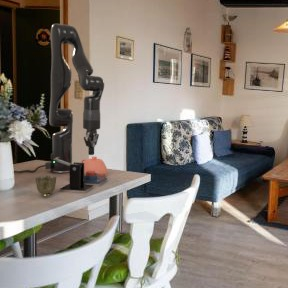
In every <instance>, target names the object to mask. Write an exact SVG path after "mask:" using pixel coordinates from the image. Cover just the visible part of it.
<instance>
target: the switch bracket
mask: <svg viewBox="0 0 288 288" xmlns="http://www.w3.org/2000/svg"><path fill="white" fill-rule="evenodd" d="M84 163H85V162H83V163H81V162H78V161H77V162H76V161H75V162H73V163H72V164H70V172H69V183H67V184H66V185H64V186H62V187H61V188H59V190H61V191H81V192H86V191H88V190H89V189H90V188H92V187H94V184H85V183H84ZM81 166H82V167H81Z"/></svg>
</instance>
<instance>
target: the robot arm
mask: <svg viewBox="0 0 288 288" xmlns="http://www.w3.org/2000/svg"><path fill="white" fill-rule="evenodd" d="M62 45H70V46H71V48H73V53H72V56H71V62H72V65H73V67H74V69H75V71H76V73H77V76H78V82H79V87H80V88H81V89H82V90H83V91H85V92H91V94H90V95H87V96H85V97H84V98H83V112H82V128H83V129H84V130H86V131H85V136H83V140H84V141H83V142H84V143H85V146H86V147H87V148H88V151H87V152H88V155H89V156H94V155H95V148H96V146H97V144H98V140H99V136H100V134H99V133H98V130H100V129H101V100H102V95H103V94H104V93H103V92H104V89H105V81H104V79H103V77H101V76H99V75H97V76H96V75H93V74H94V68H93V66H92V65H91V63H90V61H89V60H88V57H87V55H86V53H85V50H84V47H83V43H82V40H81V37H80V35H79V32H78V30H77V28H76V27H74V26H73V25H71V24H62V23H53V24H52V25H51V28H50V48H51V70H50V103H49V112H48V113H49V115H48V119H49V120H48V121H49V122H48V123H49V125H50V126H51V127H64V128H63V129H62V130H60V131H57V132H55V133H53V134H52V153H50V160H49V161H46V162H44V164H41V165H39V166H37V167H35V169H33V170H32V169H31V170H30V169H22V170H14V172H13V173H16V174H21V173H26V172H28V173H36V172H37V171H38V170H39V169H41V168H44V167H45V170H50V172H51V173H55V174H68V173H70V166H68V165H65V164H62V163H60V162H57V161H54V162H52V161H51V159H53V158H55V157H59V158H60V160H63V161H65V162H68V163H70V164H73V124H74V112H73V110H72V109H71V108H58V107H59V104H60V102H61V99H62V98H63V97H64V96H65V94H66V93H67V92H68V91H69V90H70V88H71V86H72V80H73V79H72V77H73V74H72V73H73V72H72V69H71V66H70V65H69V63H68V62H67V60H66V58H65V56H64V54H63V47H62Z"/></svg>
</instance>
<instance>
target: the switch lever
mask: <svg viewBox="0 0 288 288" xmlns="http://www.w3.org/2000/svg"><path fill="white" fill-rule="evenodd" d="M50 161H52V162H54V161H57V162H60V163H62V164H65V165H68V166H70V163H68V162H65V161H63V160H60V158H59V157H55V158H53V159H51V158H50ZM81 167H82V166H81Z"/></svg>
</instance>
